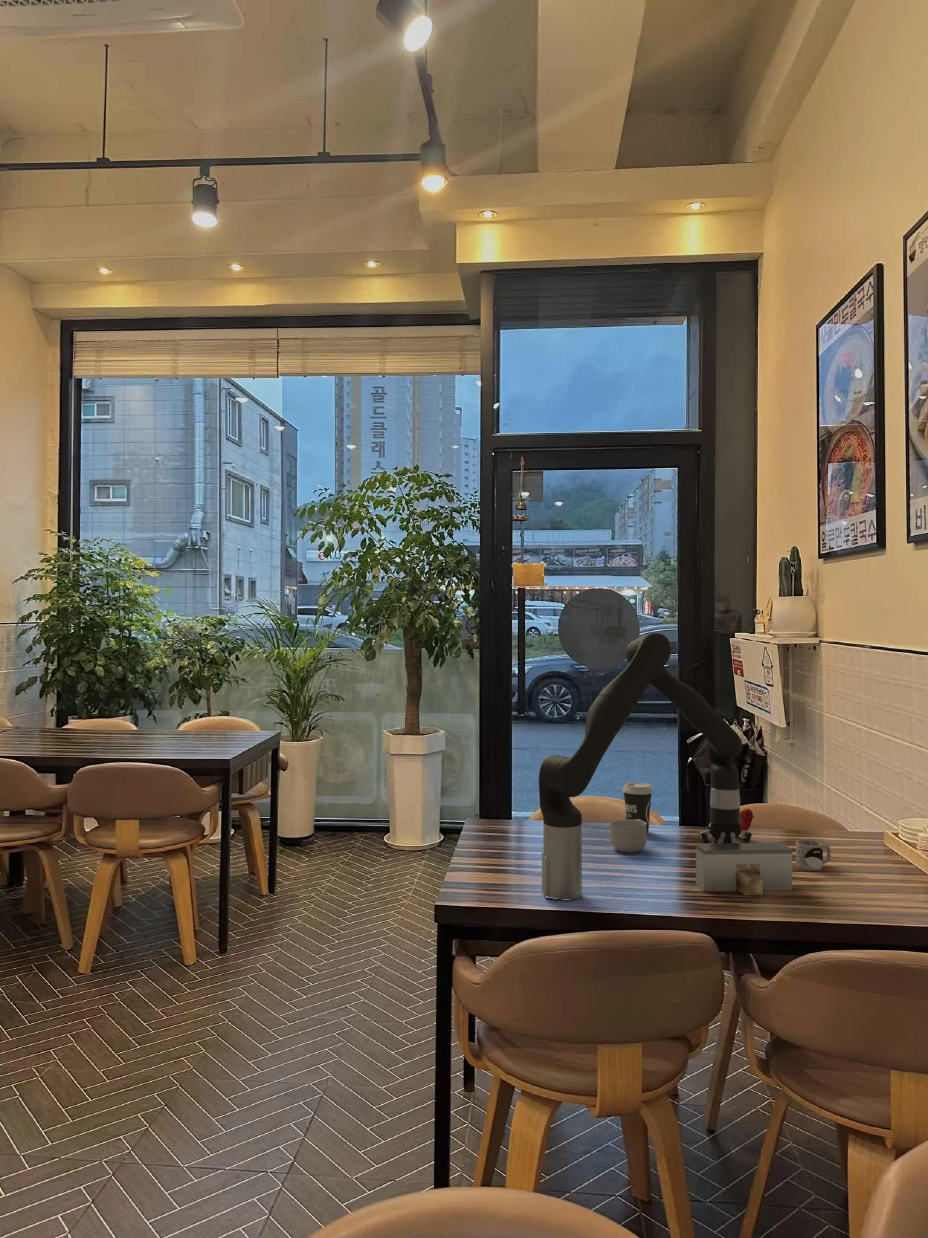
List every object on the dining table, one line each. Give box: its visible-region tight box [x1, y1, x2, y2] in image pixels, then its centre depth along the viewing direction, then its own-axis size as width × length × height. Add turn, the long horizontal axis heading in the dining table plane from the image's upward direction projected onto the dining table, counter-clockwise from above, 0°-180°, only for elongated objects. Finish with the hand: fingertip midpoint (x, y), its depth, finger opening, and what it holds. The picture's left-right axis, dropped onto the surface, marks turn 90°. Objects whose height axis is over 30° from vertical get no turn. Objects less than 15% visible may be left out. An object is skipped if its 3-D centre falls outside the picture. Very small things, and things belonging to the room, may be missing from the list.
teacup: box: [608, 819, 648, 853], centre depth 237 cm, size 14×11×8 cm
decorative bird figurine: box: [737, 808, 755, 840], centre depth 250 cm, size 3×18×10 cm, turn 24°
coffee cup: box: [621, 782, 654, 835], centre depth 256 cm, size 10×10×15 cm
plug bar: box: [736, 864, 764, 896], centre depth 206 cm, size 4×22×4 cm, turn 2°
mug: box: [795, 839, 832, 872], centre depth 219 cm, size 10×7×7 cm
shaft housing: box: [695, 842, 793, 892], centre depth 202 cm, size 22×6×10 cm, turn 93°
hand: (725, 870), depth 214 cm, fingers closed on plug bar, 4 cm apart
